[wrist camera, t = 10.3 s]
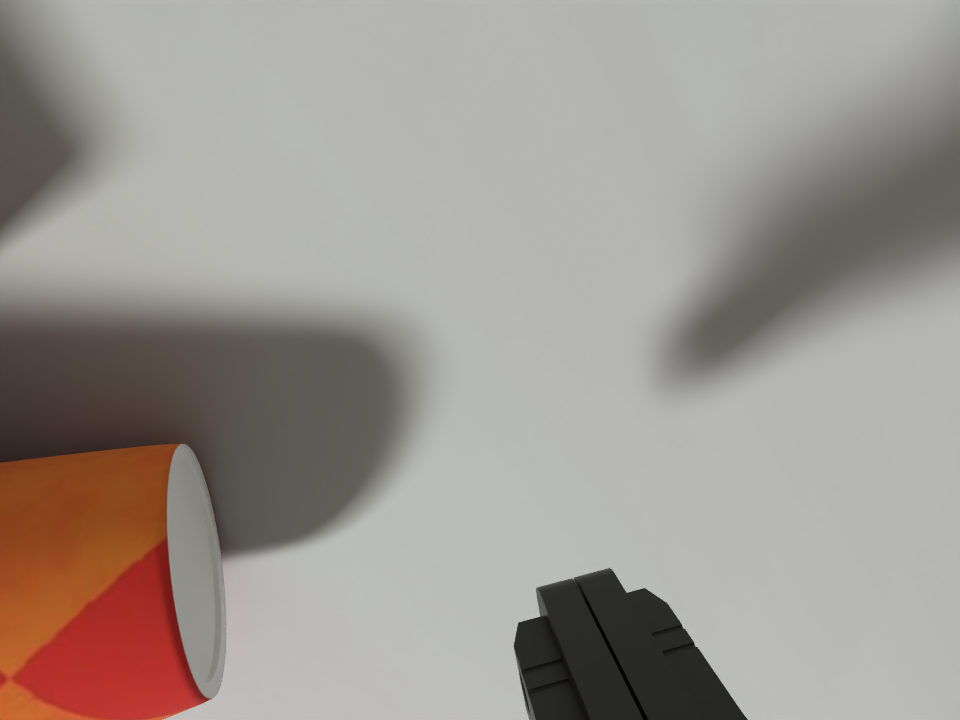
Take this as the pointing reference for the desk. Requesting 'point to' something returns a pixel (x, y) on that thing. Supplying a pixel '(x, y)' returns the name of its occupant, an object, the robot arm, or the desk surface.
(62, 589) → the paper cup
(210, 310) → the desk surface
